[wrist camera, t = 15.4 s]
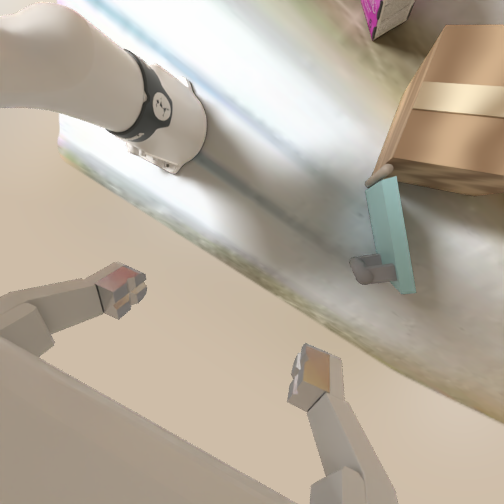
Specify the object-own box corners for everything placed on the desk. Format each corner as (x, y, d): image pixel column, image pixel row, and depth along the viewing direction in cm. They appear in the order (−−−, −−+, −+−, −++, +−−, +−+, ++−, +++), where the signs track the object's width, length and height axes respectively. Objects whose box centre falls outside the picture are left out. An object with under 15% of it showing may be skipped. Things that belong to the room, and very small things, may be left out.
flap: (334, 189, 35) (336, 178, 25) (373, 178, 33) (394, 161, 23) (351, 274, 37) (360, 298, 26) (390, 269, 35) (416, 292, 24)
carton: (371, 176, 34) (393, 156, 22) (403, 94, 30) (447, 22, 19) (474, 196, 30) (563, 184, 18) (522, 103, 26) (666, 21, 15)
